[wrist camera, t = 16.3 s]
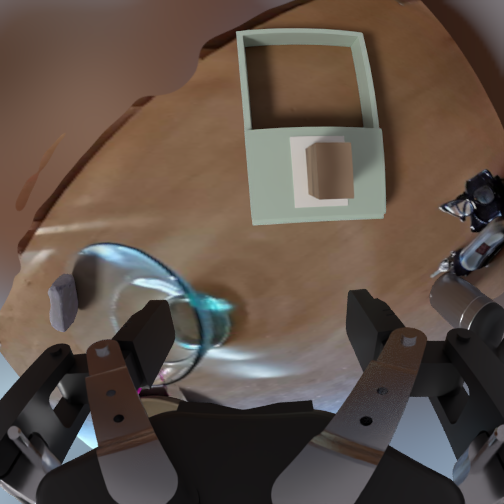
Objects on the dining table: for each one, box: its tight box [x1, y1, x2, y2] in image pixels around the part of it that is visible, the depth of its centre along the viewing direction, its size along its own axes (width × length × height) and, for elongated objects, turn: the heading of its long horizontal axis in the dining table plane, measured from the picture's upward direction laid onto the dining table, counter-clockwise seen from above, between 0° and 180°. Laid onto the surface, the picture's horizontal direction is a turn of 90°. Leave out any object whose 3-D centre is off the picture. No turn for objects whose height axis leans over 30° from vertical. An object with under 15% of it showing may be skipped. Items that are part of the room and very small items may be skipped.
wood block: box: [305, 142, 354, 200], centre depth 36 cm, size 4×7×9 cm, turn 5°
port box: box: [236, 28, 386, 225], centre depth 41 cm, size 22×34×6 cm, turn 5°
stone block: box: [48, 274, 78, 332], centre depth 51 cm, size 12×5×10 cm, turn 163°
